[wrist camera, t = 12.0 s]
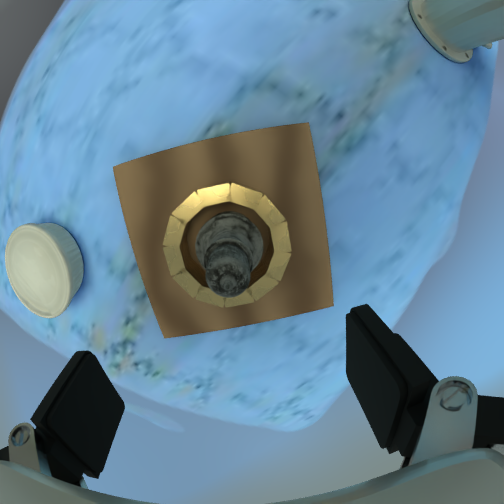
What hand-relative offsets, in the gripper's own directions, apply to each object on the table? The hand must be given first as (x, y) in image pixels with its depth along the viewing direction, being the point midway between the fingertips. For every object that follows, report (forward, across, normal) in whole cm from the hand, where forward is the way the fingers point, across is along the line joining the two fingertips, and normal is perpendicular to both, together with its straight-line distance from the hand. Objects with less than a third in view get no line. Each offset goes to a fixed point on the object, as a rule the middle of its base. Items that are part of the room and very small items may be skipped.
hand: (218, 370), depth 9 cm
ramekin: (+20, +22, -2) cm, 30 cm away
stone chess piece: (+19, 0, 0) cm, 19 cm away
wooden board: (+20, 0, 0) cm, 20 cm away
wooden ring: (+20, 0, 0) cm, 20 cm away
